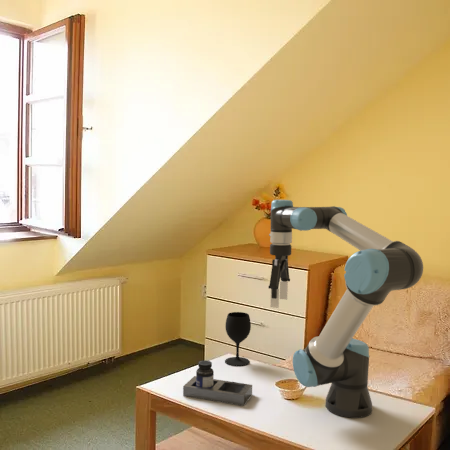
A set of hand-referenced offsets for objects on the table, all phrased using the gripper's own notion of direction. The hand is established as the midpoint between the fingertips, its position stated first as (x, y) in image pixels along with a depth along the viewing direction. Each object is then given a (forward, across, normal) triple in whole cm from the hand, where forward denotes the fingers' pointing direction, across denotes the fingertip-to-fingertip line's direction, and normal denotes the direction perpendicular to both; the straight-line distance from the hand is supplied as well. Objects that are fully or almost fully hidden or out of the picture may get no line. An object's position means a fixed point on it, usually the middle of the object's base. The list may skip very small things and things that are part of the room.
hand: (279, 303), depth 186 cm
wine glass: (+32, -22, -22) cm, 45 cm away
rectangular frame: (+32, +12, -18) cm, 39 cm away
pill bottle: (+32, +12, -23) cm, 41 cm away
